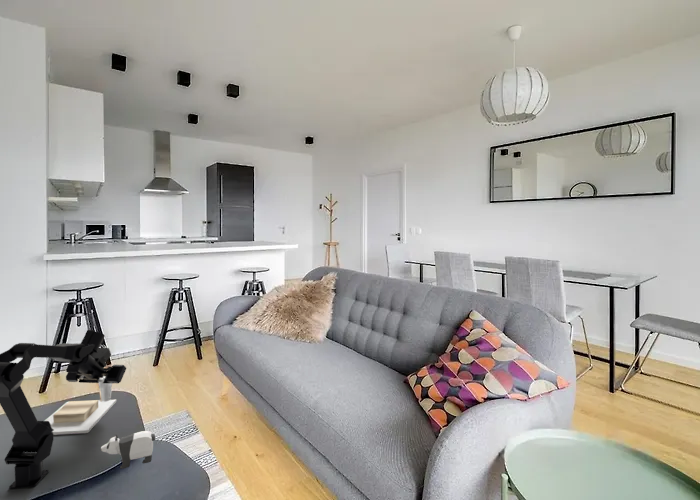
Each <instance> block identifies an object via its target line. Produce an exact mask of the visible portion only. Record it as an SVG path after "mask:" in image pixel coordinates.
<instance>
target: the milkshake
mask: <svg viewBox="0 0 700 500" xmlns="http://www.w3.org/2000/svg"><path fill="white" fill-rule="evenodd" d="M104 379H105V377H103V378H99V380H98V383H97V384H98V392H99V400H100V401H101V402H106V401H109V400H112V399H111V398H112V389H113V388H112V386H113V383H103V382H104Z"/></svg>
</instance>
